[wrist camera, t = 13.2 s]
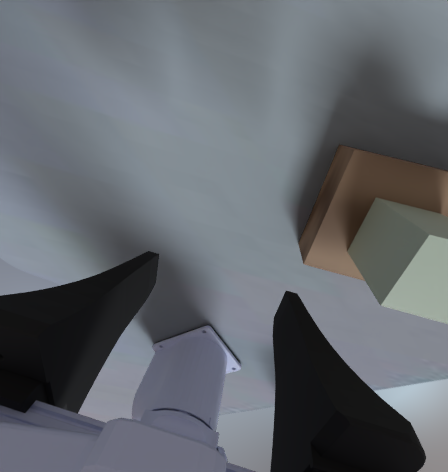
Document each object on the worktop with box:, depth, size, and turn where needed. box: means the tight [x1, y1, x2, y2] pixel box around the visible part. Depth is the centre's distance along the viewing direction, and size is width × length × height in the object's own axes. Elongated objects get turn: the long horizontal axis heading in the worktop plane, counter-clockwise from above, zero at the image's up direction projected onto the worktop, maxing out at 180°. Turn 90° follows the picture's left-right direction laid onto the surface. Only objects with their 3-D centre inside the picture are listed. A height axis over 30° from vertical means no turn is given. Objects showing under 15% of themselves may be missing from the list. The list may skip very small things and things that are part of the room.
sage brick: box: [347, 198, 448, 324], centre depth 14 cm, size 4×4×6 cm
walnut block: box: [298, 145, 448, 281], centre depth 19 cm, size 9×9×4 cm
